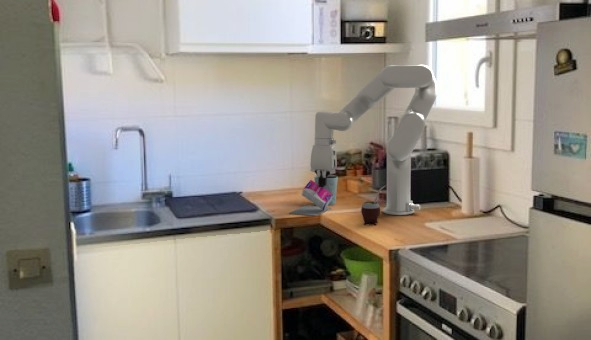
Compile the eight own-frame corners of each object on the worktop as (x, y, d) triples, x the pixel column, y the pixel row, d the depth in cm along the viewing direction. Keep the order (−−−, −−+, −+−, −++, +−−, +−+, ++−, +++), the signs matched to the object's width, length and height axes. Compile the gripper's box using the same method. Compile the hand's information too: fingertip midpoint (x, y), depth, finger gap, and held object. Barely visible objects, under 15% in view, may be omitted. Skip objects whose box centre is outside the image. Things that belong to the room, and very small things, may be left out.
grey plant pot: (310, 203, 283) (309, 176, 282) (328, 200, 289) (327, 173, 287) (324, 207, 275) (324, 179, 273) (342, 203, 281) (342, 176, 279)
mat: (331, 208, 272) (331, 207, 272) (315, 216, 259) (315, 215, 259) (305, 206, 278) (305, 205, 278) (288, 213, 265) (288, 212, 265)
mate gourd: (357, 223, 247) (357, 184, 244) (374, 220, 251) (374, 182, 248) (369, 227, 240) (369, 187, 238) (386, 224, 244) (386, 184, 242)
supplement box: (325, 204, 262) (302, 189, 264) (323, 210, 267) (301, 195, 270) (333, 194, 265) (310, 179, 267) (331, 200, 270) (308, 185, 272)
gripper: (344, 142, 263) (342, 187, 266) (311, 139, 269) (310, 183, 272) (337, 144, 256) (335, 190, 259) (303, 141, 263) (301, 186, 266)
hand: (322, 186), depth 266 cm, fingers closed
